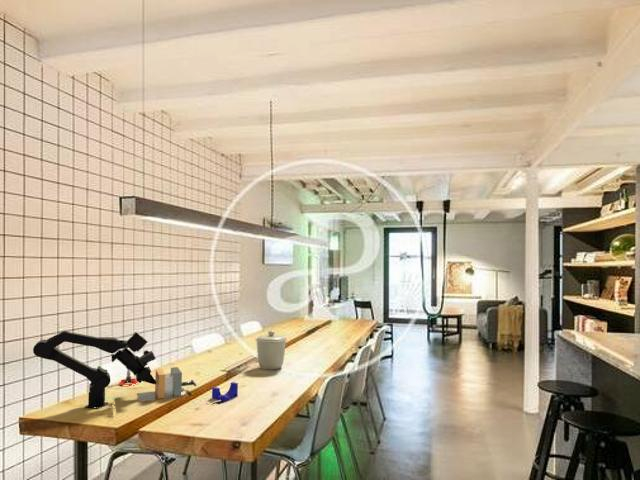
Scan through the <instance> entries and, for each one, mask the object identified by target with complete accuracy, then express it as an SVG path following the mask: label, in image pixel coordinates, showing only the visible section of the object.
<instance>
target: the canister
mask: <svg viewBox="0 0 640 480" xmlns="http://www.w3.org/2000/svg"><path fill="white" fill-rule="evenodd" d="M287 340H288V338H287V337H286V336H283V335H279V334H275V331H274V330H268V333H267V334H263V335H259V336H257V337H256V338H255V342H256V350H257V360H258V365H259V366H258V367H260V368H261V369H262V370H266V371H267V370H269V371H271V370H278V369H280V368H282V367H283V365H284V360H285V351H286V350H285V349H286V342H287Z"/></svg>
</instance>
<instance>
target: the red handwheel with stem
mask: <svg viewBox="0 0 640 480" xmlns="http://www.w3.org/2000/svg"><path fill="white" fill-rule="evenodd" d="M126 370H127V371H126V378H125V379H121V380H120V381H119V384H120V385H132V384H136V383H137V384H138V383H139V382H138V381H137V380H136V377H135V378H132V376H131V371H130V370H129V369H127V368H126ZM127 381H131V382H130V383H128V382H127ZM125 382H126V383H125ZM137 384H136V385H137ZM120 385H119V386H120Z"/></svg>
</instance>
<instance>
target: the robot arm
mask: <svg viewBox="0 0 640 480" xmlns="http://www.w3.org/2000/svg"><path fill="white" fill-rule="evenodd" d="M65 342H66V343H71V344H76V345H80V346H81V345H82V346H86V347H92V348H96V349H99V350H101V351H103V352H106V353H109V354H111V355H110V356H111V362H112V363H114V362H115V361H116V360H117V361H118V362H120V363H121V365H123V366H124V367H125V368H126V370H127V369H129V370H130V373H131V374H133V376H135V378H136V380H137V381H138V383H139V384H141V383H142V382H144V383H147V384H152V385H155V384H156V383H157V382H156V381H155V378H154V376H153V375H152V374H151V373H152V370H151V368H150V366H148V363H151V362H152V361H155V360H156V359H157V358H156V356H155V354H154V352H153V350H150V351H149V350H148V349H146V350H144V351H143V353H142V355H141V356H138V355H135V354H134V353H136V352H139V351H141V349H143V348H144V347H145V345H147V343H148V341H147V340H146V339H145V338H144V336H142V335H141V334H139V333H138V332H137V331H135V332H134V333H133V334H132V335H131V336H130V337H129V338H128V340H127V339H126V340H124V339H118V338H117V337H115V336H114V337H111V336H109V337H106V336H104V337H103V336H101V337H98V336H97V337H96V336H92V335H86V334H81V333H76V332H70V331H68V330H63V331H60V332H59V333H58V334H55V335H53V336H51V337H49V338H47V339H42V340H41V339H40V340H38V341H37V342H36V344H35V345H34V346H33V349H32V352H33V354H34V356H36V357H37V358H41V359H45V360H49V361H54V362H56V363H58V364H60V365H62V366H64V367H66V368H68V369H69V370H71V371H73V372H75V373H78V374H79V375H81V376H83V377H85V379H87V380H88V381H90V383H89V388H88V390H89V391H88V399H87V400H88V402H87V404H86V405H84V408H85V407H101V406H103V405H104V406H106V405H108V404H109V402H108V401H107V402H106V388H107V387H108V386H109V385H110V383H111V375H110V373H109V371H108V369H104V368H103V367H102V366H100V365H98V366H97V368H95V367H92V366H90V365H88V364H86V363H84V362H82V361H80V360H78V359H77V358H74V357H73V356H70V355H68V354H66V353H64V352H63V351H61V350H60V349H59V348H58V346H60V345H61V344H63V343H65ZM107 403H108V404H107ZM105 404H106V405H105ZM104 406H103V407H104ZM101 408H102V407H101Z"/></svg>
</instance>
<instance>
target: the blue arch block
mask: <svg viewBox="0 0 640 480" xmlns="http://www.w3.org/2000/svg"><path fill="white" fill-rule="evenodd" d="M220 389H221V388H219V387H217V386H214V387H212V388H211V398H212V399H213V400H217V401H214V403H216V404H222V403H225V402H228V401H230V400H231V399H233V398H234V399H235V398H238V395H239V394H238V391H239V390H238V389H239V384H238V382H235V381H233V382H230V385H229V389H228V390H227V391H226V393H225V394H221V391H220Z"/></svg>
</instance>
